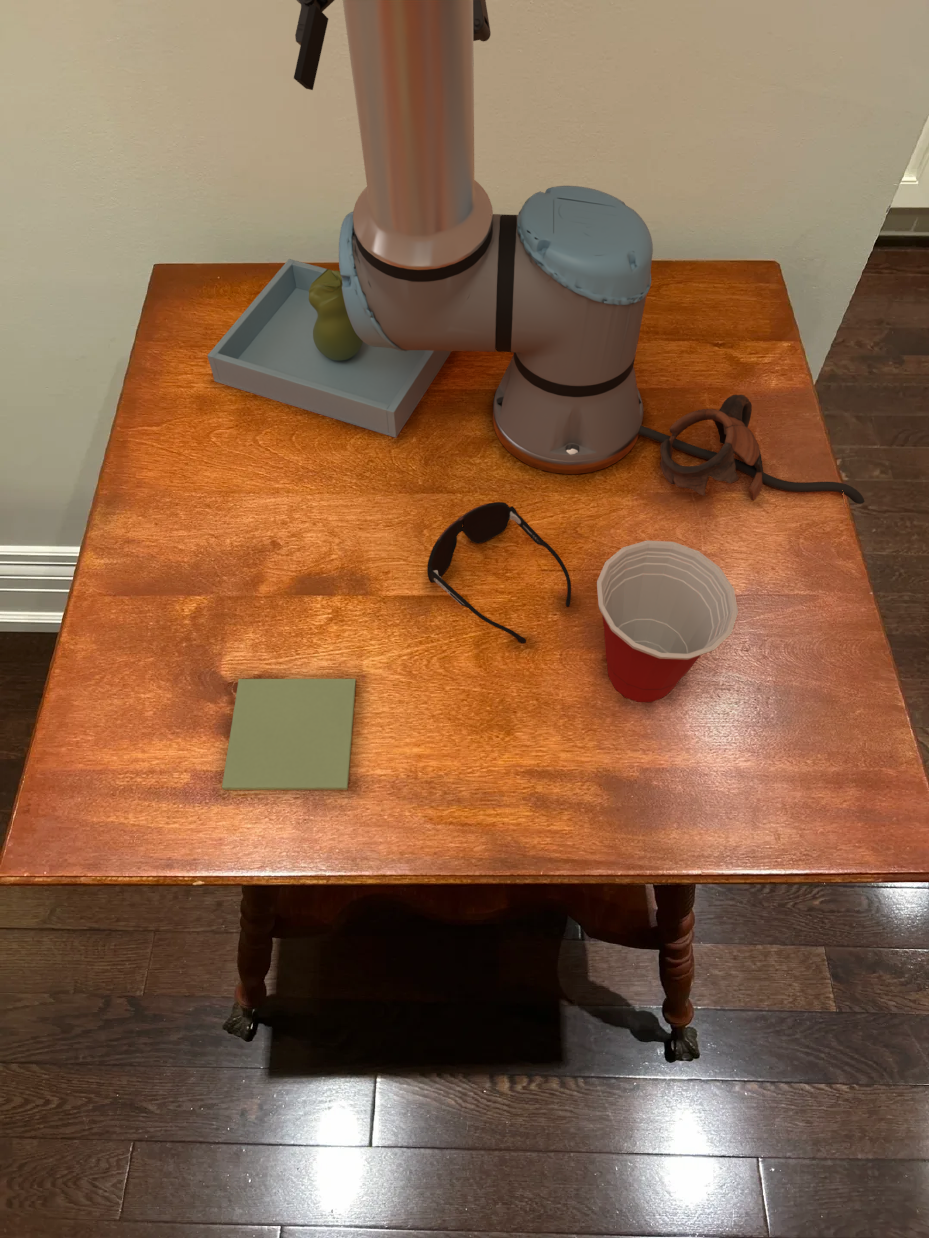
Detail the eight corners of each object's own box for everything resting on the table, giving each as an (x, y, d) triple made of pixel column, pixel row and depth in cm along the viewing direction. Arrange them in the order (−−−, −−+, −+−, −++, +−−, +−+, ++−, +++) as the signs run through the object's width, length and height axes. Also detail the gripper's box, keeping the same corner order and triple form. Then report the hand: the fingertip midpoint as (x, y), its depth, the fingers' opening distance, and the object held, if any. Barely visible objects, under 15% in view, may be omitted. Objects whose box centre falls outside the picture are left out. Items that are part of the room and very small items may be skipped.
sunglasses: (495, 517, 91) (501, 486, 87) (584, 599, 88) (595, 572, 83) (413, 578, 87) (415, 549, 83) (503, 667, 84) (510, 642, 79)
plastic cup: (703, 741, 78) (737, 666, 68) (572, 718, 79) (587, 641, 69) (711, 632, 84) (743, 548, 74) (589, 612, 85) (605, 527, 75)
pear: (345, 377, 102) (334, 299, 94) (306, 359, 103) (291, 281, 95) (375, 347, 104) (367, 269, 96) (337, 330, 106) (325, 252, 98)
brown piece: (756, 528, 91) (729, 481, 85) (667, 522, 97) (636, 477, 91) (790, 424, 94) (767, 371, 88) (702, 424, 100) (674, 374, 94)
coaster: (356, 681, 82) (355, 678, 81) (348, 790, 76) (347, 787, 76) (239, 681, 82) (238, 678, 81) (223, 790, 76) (221, 787, 76)
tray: (463, 332, 106) (463, 306, 103) (396, 438, 97) (393, 412, 94) (293, 285, 111) (288, 258, 108) (214, 381, 102) (206, 355, 99)
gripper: (562, -106, 87) (497, 139, 92) (319, -146, 92) (270, 87, 97) (545, -157, 80) (475, 112, 85) (283, -197, 85) (232, 57, 90)
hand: (365, 99), depth 91 cm, fingers open, 13 cm apart
